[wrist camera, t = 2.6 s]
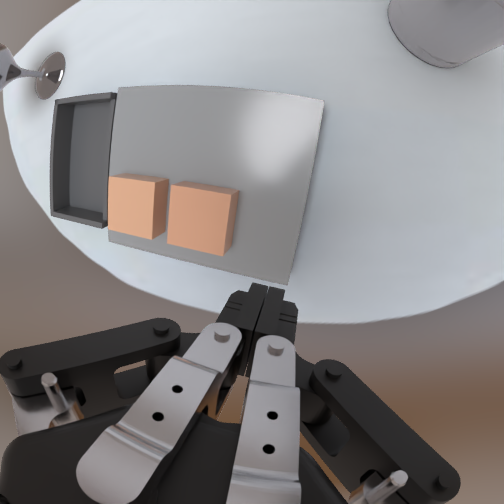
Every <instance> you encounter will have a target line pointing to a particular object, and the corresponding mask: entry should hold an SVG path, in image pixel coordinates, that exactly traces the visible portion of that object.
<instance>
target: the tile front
mask: <svg viewBox="0 0 504 504" xmlns="http://www.w3.org/2000/svg"><path fill="white" fill-rule="evenodd" d="M238 196H239V190H236V189H231V188H225V187H219V186H213V185H207V184H201V183H195V182H188V181H182V182H179V183H175V184H172V185H171V191H170V203H169V218H168V235H167V244H172V245H176V246H180V247H184V248H189V249H193V250H197V251H201V252H206V253H210V254H214V255H219V256H224V255H225V253H226V252H227V251H228V250H229V249H230V247H231V245H232V238H233V231H234V224H235V217H236V210H237V203H238Z"/></svg>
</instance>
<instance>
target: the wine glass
mask: <svg viewBox="0 0 504 504" xmlns="http://www.w3.org/2000/svg"><path fill="white" fill-rule="evenodd" d="M64 71H65V59H64V56H63V54H62V53H60V52H54V53H52V54H50V55H49V56H48V57H47V58H46V59H45V60H44V61H43V63H42V64H41V66H40V68H39V70H38V72H37V71H31V70H26V69H23V68H21V67H19V66H18V65H17V64H16V62H15V60H14V58H13V56H12V54H11V52H10V50H9V49H8V48H7V47H6V46H5V45H3V44H1V43H0V91H1V90H2V89H3V88H4V87H5V86H6V85H8V84H9V83H10V82H11V81H13V80H15V79H17V78H21V77H36V81H35V91H36V94H37V96H38V97H39V98H40V99H48V98H49V97H51V96H52V95H53V94H54V93H55V91H56V90H57V89H58V87H59V85H60V83H61V81H62V78H63V75H64Z"/></svg>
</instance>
